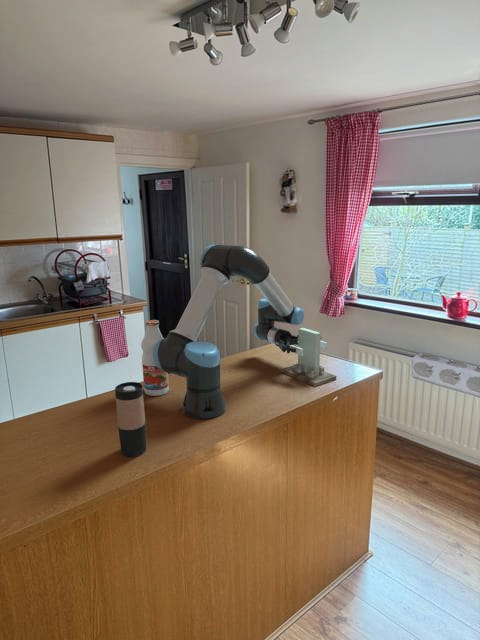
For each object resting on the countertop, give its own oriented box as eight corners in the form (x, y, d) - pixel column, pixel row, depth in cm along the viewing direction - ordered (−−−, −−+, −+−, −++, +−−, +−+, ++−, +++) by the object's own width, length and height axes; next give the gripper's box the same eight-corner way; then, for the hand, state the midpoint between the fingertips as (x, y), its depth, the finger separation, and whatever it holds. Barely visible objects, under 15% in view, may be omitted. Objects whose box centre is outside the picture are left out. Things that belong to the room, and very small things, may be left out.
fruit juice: (172, 387, 172) (168, 318, 165) (163, 397, 163) (159, 325, 156) (150, 385, 174) (145, 317, 167) (140, 395, 165) (134, 324, 158)
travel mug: (115, 450, 127) (109, 387, 122) (138, 441, 132) (133, 379, 127) (129, 461, 122) (123, 394, 117) (152, 450, 127) (147, 386, 122)
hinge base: (281, 372, 186) (281, 362, 185) (301, 366, 193) (302, 356, 192) (315, 386, 171) (315, 375, 169) (336, 379, 177) (336, 369, 176)
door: (296, 368, 186) (296, 328, 181) (302, 367, 188) (303, 326, 183) (314, 376, 177) (316, 333, 172) (321, 374, 179) (322, 332, 175)
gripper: (300, 340, 201) (335, 351, 184) (257, 350, 187) (291, 364, 170) (300, 324, 199) (336, 334, 182) (257, 334, 185) (292, 346, 168)
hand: (314, 349), depth 176 cm, fingers open, 13 cm apart
